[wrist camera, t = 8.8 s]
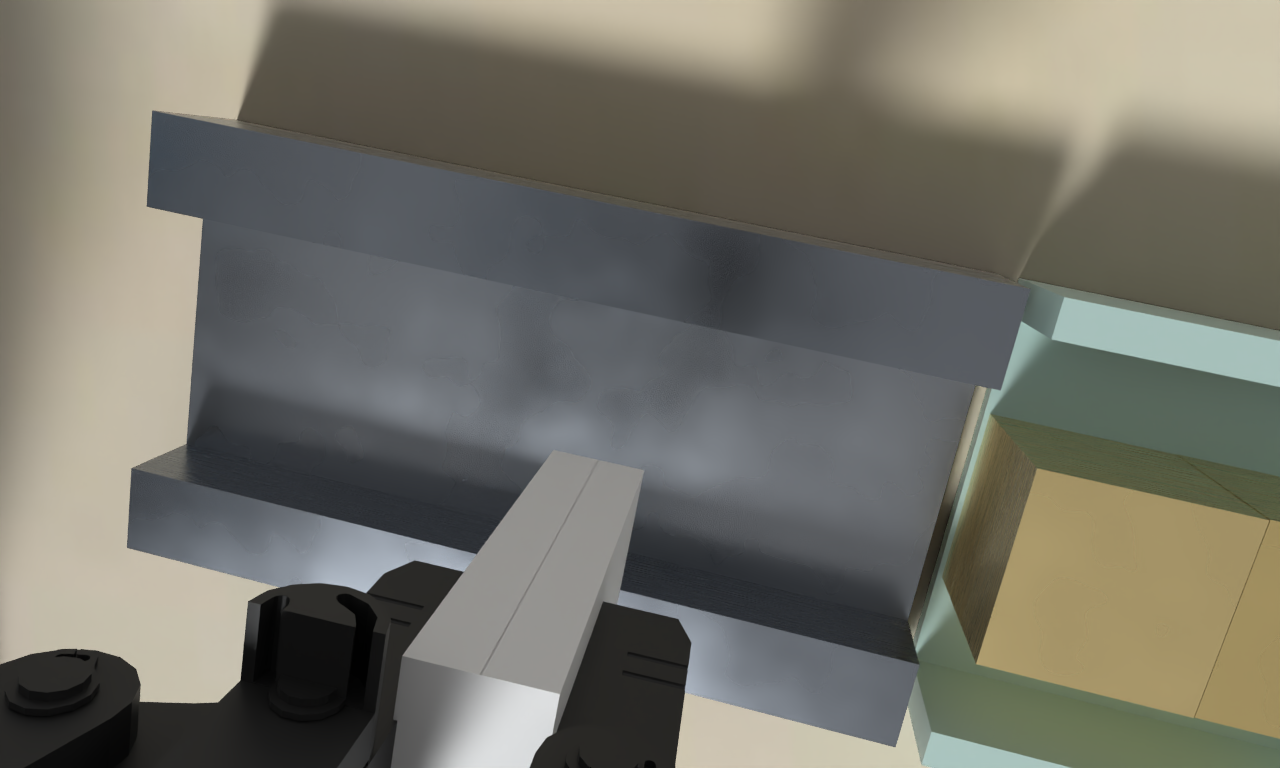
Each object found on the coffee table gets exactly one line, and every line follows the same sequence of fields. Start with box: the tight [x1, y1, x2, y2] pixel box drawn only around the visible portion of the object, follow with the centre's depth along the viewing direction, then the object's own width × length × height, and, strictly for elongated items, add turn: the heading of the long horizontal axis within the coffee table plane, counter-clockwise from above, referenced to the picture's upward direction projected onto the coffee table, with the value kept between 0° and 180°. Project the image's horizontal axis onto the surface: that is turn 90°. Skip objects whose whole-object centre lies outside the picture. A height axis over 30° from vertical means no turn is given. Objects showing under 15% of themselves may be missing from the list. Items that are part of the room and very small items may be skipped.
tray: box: [908, 278, 1280, 768], centre depth 19 cm, size 12×10×3 cm
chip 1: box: [942, 414, 1270, 718], centre depth 19 cm, size 4×4×4 cm
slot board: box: [127, 111, 1031, 747], centre depth 21 cm, size 18×10×3 cm, turn 79°
